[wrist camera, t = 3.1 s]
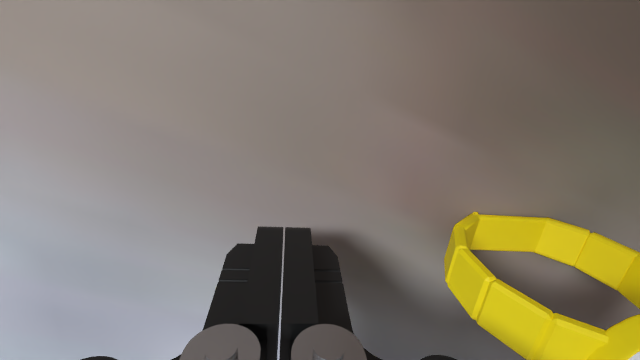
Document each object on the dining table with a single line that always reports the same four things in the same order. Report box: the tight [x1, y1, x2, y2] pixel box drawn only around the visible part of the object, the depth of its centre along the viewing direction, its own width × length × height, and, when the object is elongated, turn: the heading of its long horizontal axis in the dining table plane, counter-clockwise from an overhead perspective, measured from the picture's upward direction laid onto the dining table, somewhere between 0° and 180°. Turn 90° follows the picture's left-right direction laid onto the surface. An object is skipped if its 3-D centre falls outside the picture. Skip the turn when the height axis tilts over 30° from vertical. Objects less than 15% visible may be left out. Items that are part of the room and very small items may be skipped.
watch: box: [444, 212, 640, 360], centre depth 9 cm, size 6×3×6 cm, turn 84°
